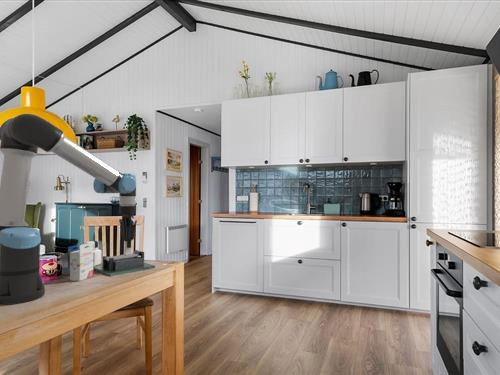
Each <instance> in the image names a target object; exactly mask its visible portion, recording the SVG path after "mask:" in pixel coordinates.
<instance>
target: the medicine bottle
mask: <svg viewBox="0 0 500 375" xmlns="http://www.w3.org/2000/svg"><path fill="white" fill-rule="evenodd" d="M88 243H93V250H94V252H93V267H97V266H98V265H99V266H100V264H102V249H99V242H98V241H97V240H87V241H85V242H84V244H88ZM88 247H89V246H86V247H84V248H88Z"/></svg>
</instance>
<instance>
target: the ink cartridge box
mask: <svg viewBox="0 0 500 375" xmlns="http://www.w3.org/2000/svg"><path fill="white" fill-rule="evenodd" d="M86 246H89V247H88V248H85V247H86ZM79 247H80V250H78V251H74V252H70V274H69V281H73V282H74V281H75V282H77V281H78V282H81V281H84V280H86V279H89V278H93V277H94V270H93V267H94V266H93V252H94V250H93V243H88V244H85V243H84V244H81V245H80V246H79Z"/></svg>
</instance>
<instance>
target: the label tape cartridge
mask: <svg viewBox="0 0 500 375" xmlns="http://www.w3.org/2000/svg"><path fill="white" fill-rule="evenodd" d="M80 245H82V243H80V244H76V245H70V246H68V247H67V252H66V253H64V254H62V255H60V262H61V261H62V274H61V275H70V252H74V251H78V250H80V247H79V246H80ZM61 258H62V260H61Z"/></svg>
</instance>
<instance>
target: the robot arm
mask: <svg viewBox="0 0 500 375" xmlns="http://www.w3.org/2000/svg"><path fill="white" fill-rule="evenodd" d="M38 148H39V149H40V150H43V151H44V152H46V153H53V154H55V155H57V157H60V158H61V159H63V160H65V161H66V162H68V163H70V165H73V166H74V167H76V168H78V169H79V170H81V171H82V172H84V173H86V174H87V175H89V176H90V177H92V178H94V179H93V190H94V193H97V194H102V195H103V194H119V197H118V198H119V199H118V200H119V214H120V215H121V218H120V219H118V222H119V226H120V227H119V228H120V235H121V236H120V237H121V239H122V240H123V243H124V244H123V246H124V247H123V249H124V251H123V255H129V254H131V253H132V241H133V240H135V235H136V234H135V232H136V227H137V226H136V225H137V222H138V221H137V220H136V219H134V217H135V216H134V214H136V213H137V206H136V205H137V176H136V174H135V173H122V172H120V171H118V170H117V169H115V167H114V168H113V167H112V166H111V165H110V164H108V163H106V162H105V161H103V160H102V159H100V158H98V157H97V156H96V155H94V153H91V152H90V151H89V150H87V149H86V148H84V147H83V146H81V145H79V144H78V143H76V142H75V141H73V140H72V139H70V138H69V137H67V136H66V135H65V132H64V131H63V130H62V129H60V128H59V127H57V126H56V125H54V124H52V122H50V121H48V120H46V119H44V118H43V117H41V116H40V115H39V116H38V115H36V114H32V113H22V114H19V115H16V116H15V117H11V118H8V119H7V120H5V121H4V122H3V123H1V125H0V152H1V153H2V154H3V161H2V169H1V179H0V305H14V304H22V303H28V302H31V301H34V300H37V299H40V298H42V297H44V296H45V294H46V293H45V292H46V289H45V285H44V281H43V280H42V279H43V278H42V277H41V274H40V261H41V256H40V255H41V240H42V238H41V232H40V231H39V230H38V229H36V228H34V227H29V224H28V223H27V222H26V221H25V218H26V210H27V202H28V194H29V185H30V184H29V183H30V177H31V169H32V160H33V159H34V158H35V157H36V156H38V150H39V149H38Z"/></svg>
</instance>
